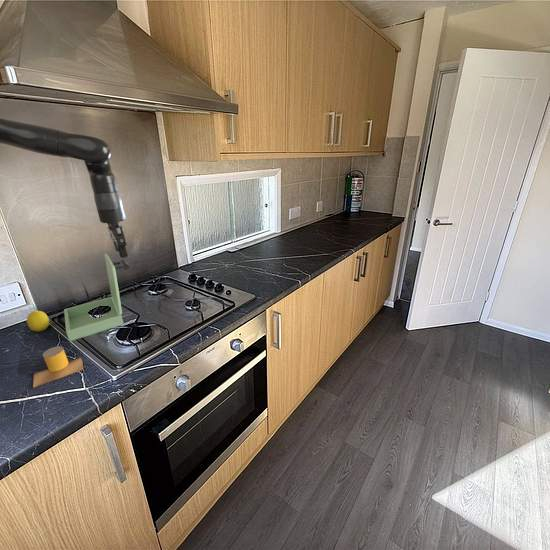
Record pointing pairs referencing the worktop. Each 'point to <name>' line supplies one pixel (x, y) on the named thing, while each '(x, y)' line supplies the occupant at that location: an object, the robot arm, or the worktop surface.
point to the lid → (115, 279)
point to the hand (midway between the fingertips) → (121, 254)
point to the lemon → (37, 321)
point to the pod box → (90, 319)
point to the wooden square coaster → (57, 372)
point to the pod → (55, 358)
